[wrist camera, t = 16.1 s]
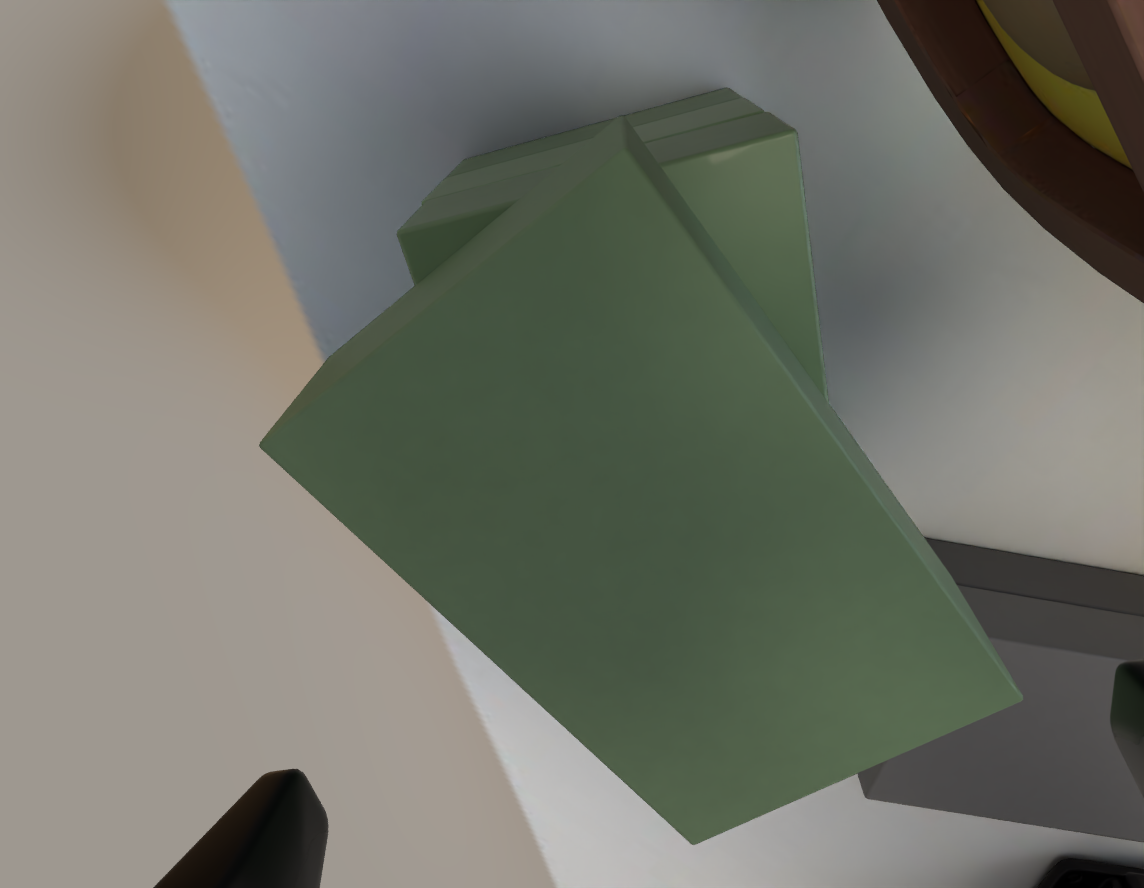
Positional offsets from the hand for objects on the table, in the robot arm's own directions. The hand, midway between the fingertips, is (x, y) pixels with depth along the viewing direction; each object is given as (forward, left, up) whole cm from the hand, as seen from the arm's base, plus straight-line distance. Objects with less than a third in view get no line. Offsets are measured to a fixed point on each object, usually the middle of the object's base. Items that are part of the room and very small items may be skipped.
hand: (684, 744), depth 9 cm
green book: (0, 0, -6) cm, 6 cm away
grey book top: (-7, -13, -10) cm, 18 cm away
